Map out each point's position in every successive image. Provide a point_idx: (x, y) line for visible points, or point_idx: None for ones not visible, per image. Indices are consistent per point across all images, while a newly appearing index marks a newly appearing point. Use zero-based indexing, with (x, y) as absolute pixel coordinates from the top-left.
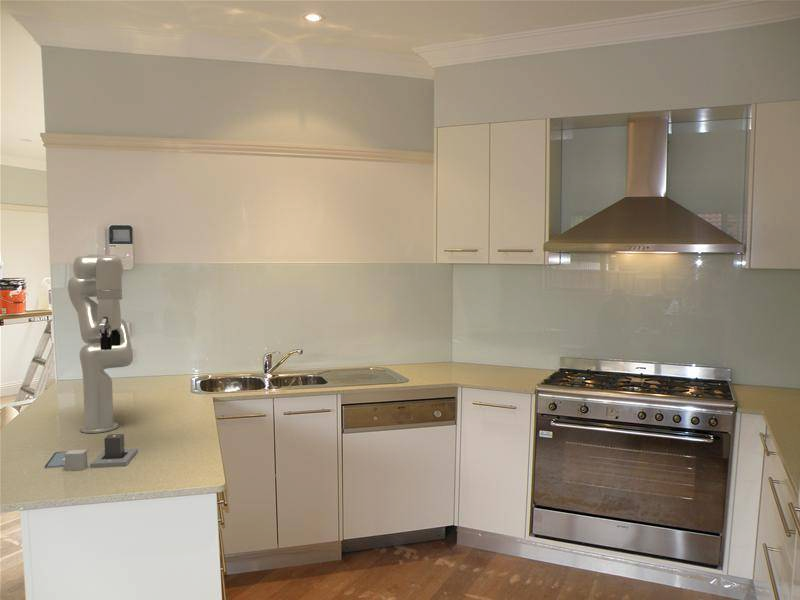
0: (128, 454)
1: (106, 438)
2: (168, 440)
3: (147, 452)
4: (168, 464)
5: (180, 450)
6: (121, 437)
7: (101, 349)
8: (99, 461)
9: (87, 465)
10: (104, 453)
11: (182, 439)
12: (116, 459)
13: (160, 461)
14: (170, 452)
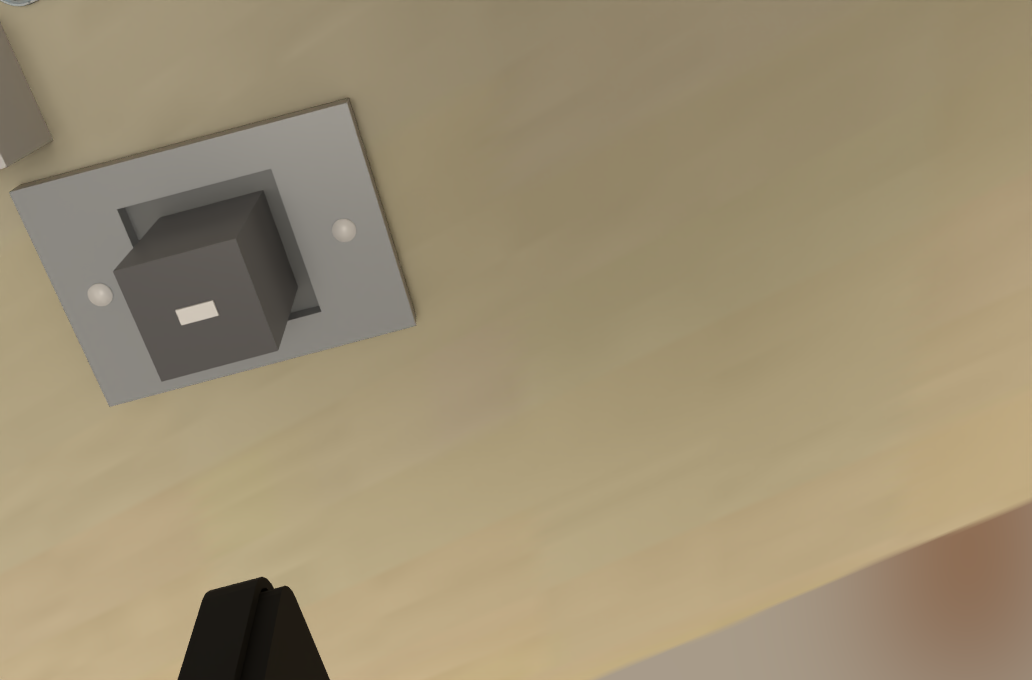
0: None
1: (120, 286)
2: (694, 385)
3: (412, 383)
4: None
5: (478, 553)
6: (207, 366)
7: (214, 604)
8: (72, 230)
9: (49, 141)
10: (255, 157)
11: (719, 461)
12: None
13: (249, 544)
14: (431, 517)
